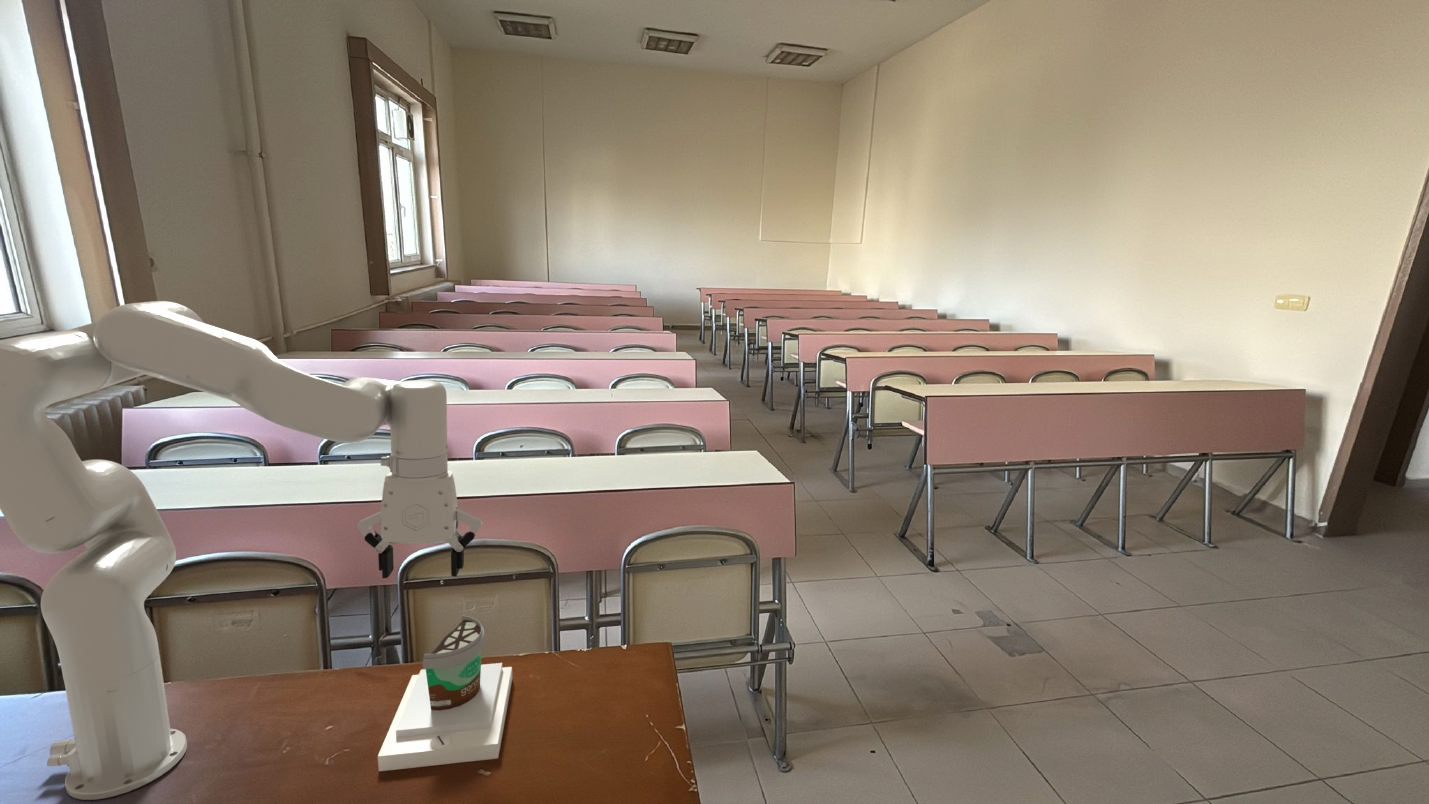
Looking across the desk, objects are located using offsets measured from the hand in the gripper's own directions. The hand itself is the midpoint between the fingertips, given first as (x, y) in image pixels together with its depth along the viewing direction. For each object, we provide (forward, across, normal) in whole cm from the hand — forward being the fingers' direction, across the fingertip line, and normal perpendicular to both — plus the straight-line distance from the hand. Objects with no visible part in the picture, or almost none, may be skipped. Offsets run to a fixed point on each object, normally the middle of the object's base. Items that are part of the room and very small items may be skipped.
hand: (422, 573), depth 98 cm
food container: (+20, +6, -1) cm, 21 cm away
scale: (+24, +4, -2) cm, 24 cm away
